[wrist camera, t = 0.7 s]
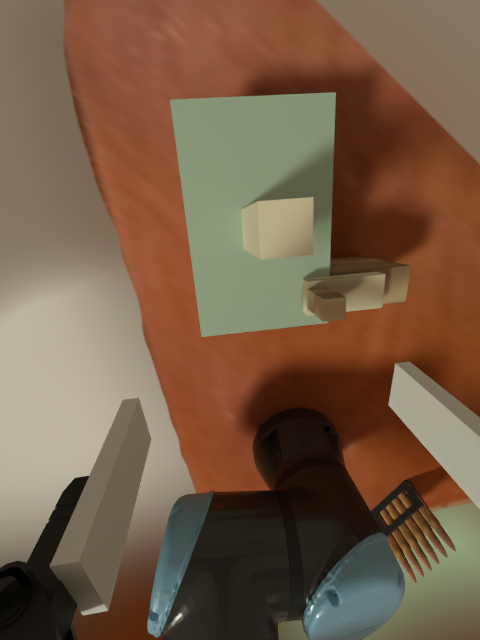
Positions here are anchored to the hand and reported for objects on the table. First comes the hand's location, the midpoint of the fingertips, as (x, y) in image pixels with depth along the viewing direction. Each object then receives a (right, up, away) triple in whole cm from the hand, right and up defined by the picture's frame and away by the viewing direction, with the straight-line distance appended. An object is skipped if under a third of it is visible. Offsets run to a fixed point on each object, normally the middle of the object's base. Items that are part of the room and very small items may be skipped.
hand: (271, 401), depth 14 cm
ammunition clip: (+29, -33, +42) cm, 61 cm away
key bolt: (+9, +7, +15) cm, 19 cm away
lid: (0, +14, +14) cm, 20 cm away
